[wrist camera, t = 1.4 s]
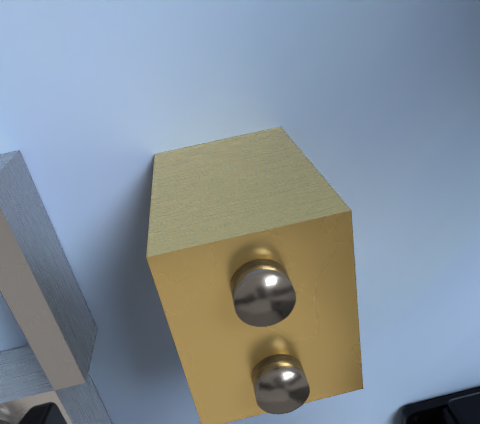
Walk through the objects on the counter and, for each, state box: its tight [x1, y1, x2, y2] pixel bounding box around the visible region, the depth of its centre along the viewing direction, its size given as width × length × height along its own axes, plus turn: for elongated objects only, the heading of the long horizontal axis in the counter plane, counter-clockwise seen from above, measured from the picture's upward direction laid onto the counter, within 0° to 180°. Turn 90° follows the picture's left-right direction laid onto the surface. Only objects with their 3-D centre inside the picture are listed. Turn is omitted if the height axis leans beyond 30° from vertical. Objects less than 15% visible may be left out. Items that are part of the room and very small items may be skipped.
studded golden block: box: [146, 127, 363, 424], centre depth 12 cm, size 5×4×7 cm
